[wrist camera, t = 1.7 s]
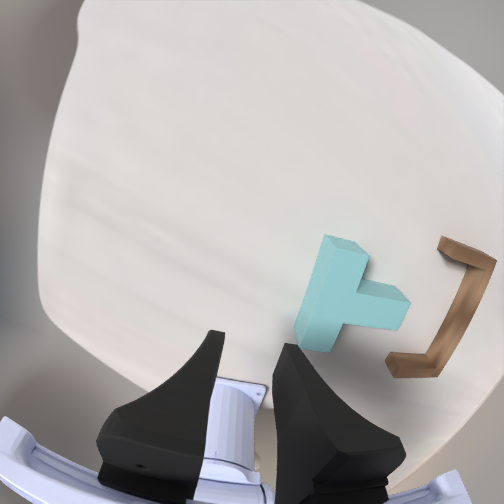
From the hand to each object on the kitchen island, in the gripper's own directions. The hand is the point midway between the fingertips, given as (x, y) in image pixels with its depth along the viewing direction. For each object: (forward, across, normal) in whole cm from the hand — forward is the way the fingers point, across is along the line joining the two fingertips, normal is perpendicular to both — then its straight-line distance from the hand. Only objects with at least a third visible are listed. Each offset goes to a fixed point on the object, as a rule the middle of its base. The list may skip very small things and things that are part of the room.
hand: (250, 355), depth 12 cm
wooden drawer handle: (+9, -18, 0) cm, 20 cm away
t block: (+9, -8, 0) cm, 13 cm away
